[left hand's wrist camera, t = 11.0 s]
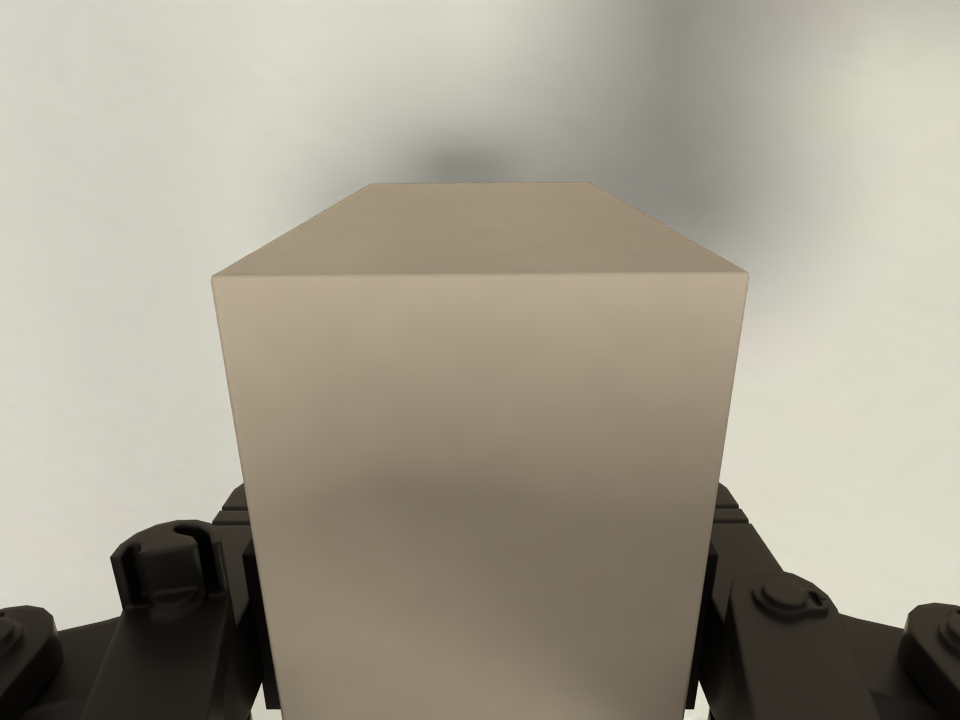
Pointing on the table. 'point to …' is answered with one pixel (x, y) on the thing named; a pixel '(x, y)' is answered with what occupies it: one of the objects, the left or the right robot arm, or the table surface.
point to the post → (481, 450)
